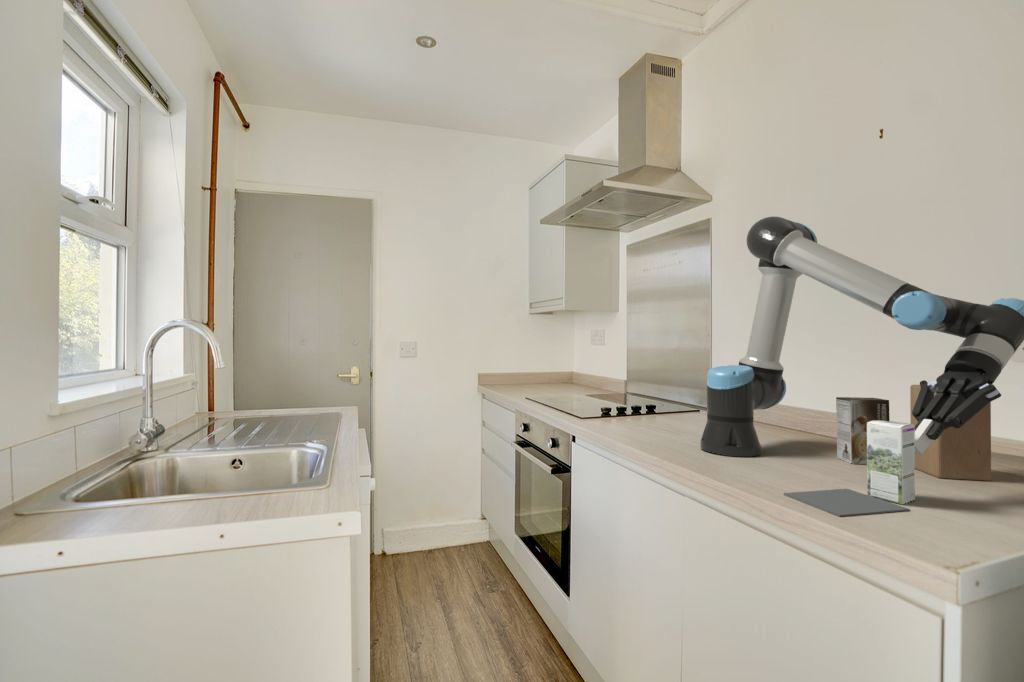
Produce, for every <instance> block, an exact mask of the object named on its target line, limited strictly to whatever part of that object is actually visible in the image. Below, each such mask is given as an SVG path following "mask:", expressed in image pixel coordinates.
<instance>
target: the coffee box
mask: <svg viewBox="0 0 1024 682" xmlns="http://www.w3.org/2000/svg"><path fill="white" fill-rule="evenodd" d="M835 399H836V403H835V404H836V405H835V406H836V450H837V451H836V457H837V459H838V458H839V459H838V460H840V459H841V460H840V461H843V460H844V461H843V462H846V463H848V462H849V463H848V464H851V463H852V464H851V465H867V422H870V421H874V420H881V421H890V422H891V420H890V419H891V418H890V399H882V398H877V397H858V396H857V397H856V396H855V397H854V396H853V397H851V396H849V397H848V396H847V397H845V396H844V397H843V396H842V397H841V396H840V397H839V396H836V397H835Z"/></svg>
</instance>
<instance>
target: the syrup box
mask: <svg viewBox="0 0 1024 682" xmlns="http://www.w3.org/2000/svg"><path fill="white" fill-rule="evenodd" d="M914 461H915V427H914V424H911V423H907V422H905V423H904V422H899V421H898V422H897V421H891V420H890V421H881V420H874V421H870V422H867V464H866V468H867V469H866V470H867V471H866V478H867V479H866V481H867V484H866V485H867V487H866V488H867V489H866V492H867V493H866V495H868V496H871V497H874V498H877V499H881V500H884V501H887V502H890V503H893V504H897V505H905V503H906V504H909V503H911V502H910V501H912V502H914V501H915V500H916V485H915V484H916V483H915V470H916V469H915V462H914ZM913 500H914V501H913ZM908 502H909V503H908Z"/></svg>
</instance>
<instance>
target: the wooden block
mask: <svg viewBox="0 0 1024 682" xmlns="http://www.w3.org/2000/svg"><path fill="white" fill-rule="evenodd" d="M937 389H938V387H937ZM937 389H936V390H937ZM920 390H921V387H920V384H911V385H910V390H909V391H910V394H909V395H910V401H909V402H910V424H914V427H915V425H916V424H917V423H918V421H917V420H916V418H915V417H914V416H913V415H912V411H913V408H914V405H915V403H916V400H917V398H918V395H919V392H920ZM935 395H936V393H934V396H935ZM991 402H992V401H991ZM991 402H989V403H988V404H987V405H986V406H985V407H983V408H982V409H981V410H980V411H979V412H978V413H976V414H975V415H974V416H973V417H972V418H971V419H969V420H968V421H967V422H966V423H965V424H964V425H962V426H961V427H960V428H954V427H948V428H947V429H944V431H943V432H942V433H941V434H940V436H939V437H938V439H936V440H932V441H931V443H930V444H929V446H928V447H927V448H926V450H925V451H924V453H923V454H917V453H915V461H914V462H915V470H918V471H920V472H922V473H925V474H928V475H930V476H933V477H935V478H937V479H945V478H947V479H948V480H963V479H965V480H967V481H981V480H983V481H984V482H985V481H986V482H990V481H991V480H992V443H991V442H992V427H991V426H992V417H991V416H992V415H991V414H992V413H991V412H992V410H991V408H992V403H991ZM957 419H958V418H957ZM983 481H982V482H983Z"/></svg>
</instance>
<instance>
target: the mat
mask: <svg viewBox="0 0 1024 682" xmlns="http://www.w3.org/2000/svg"><path fill="white" fill-rule="evenodd" d="M783 496H785V497H788V498H791V499H794V500H796V501H799V502H802V503H804V504H807V505H809V506H811V507H814V508H817V509H819V510H821V511H824V512H827V513H829V514H832V515H834V516H837V517H839V518H841V517H842V518H843V517H853V516H865V514H867V515H876V514H877V513H878V514H888V513H887V512H890V513H897V512H899V511H901V512H910V511H911V509H910V508H908V507H904V506H902V505H900V504H897V503H894V502H889V501H885V500H881V499H877V498H874V497H871V496H868V495H867V494H865V493H862V492H859V491H856V490H852V489H849V488H837V489H835V488H834V489H823V490H822V489H821V490H807V491H796V492H795V491H793V492H784V493H783ZM878 514H877V515H878Z"/></svg>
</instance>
